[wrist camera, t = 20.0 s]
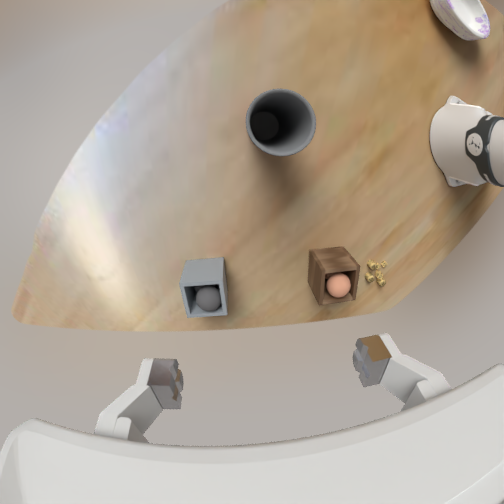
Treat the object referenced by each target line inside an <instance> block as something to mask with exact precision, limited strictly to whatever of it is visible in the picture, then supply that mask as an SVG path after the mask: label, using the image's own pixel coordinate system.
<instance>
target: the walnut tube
mask: <svg viewBox="0 0 504 504" xmlns="http://www.w3.org/2000/svg"><path fill="white" fill-rule="evenodd" d="M335 272H341V273H343V274H345V275H346V276H347V277H348V278H349V280H350V283H351V287H350V290H349V292H348V293H347V294H346V295H345V296H343V297H334V296H332V295H331V294H330V293H329V292H328V290H327V281H328V279H325V274H326V273H335ZM359 272H360V265H359V264H358V263H357V262H356V261H355V259H354V258H353V257H352V256H351V255H350V254H349V252H348V251H347V250H346V249H345V248H344V247H334V248H323V249H312V250H309V269H308V283H309V285H310V287H311V289H312V291H313V293H314V295H315V298H316V300H317V302H318V304H319V305H325V304H332V303H339V302H345V301H352V300H355V298H356V292H357V285H358V279H359Z"/></svg>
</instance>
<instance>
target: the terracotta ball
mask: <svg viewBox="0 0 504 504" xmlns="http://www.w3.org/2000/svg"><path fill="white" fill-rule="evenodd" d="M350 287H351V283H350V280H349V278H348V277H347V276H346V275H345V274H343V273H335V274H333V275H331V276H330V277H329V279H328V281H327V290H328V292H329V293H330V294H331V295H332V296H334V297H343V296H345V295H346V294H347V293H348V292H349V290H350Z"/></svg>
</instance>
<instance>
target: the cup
mask: <svg viewBox="0 0 504 504" xmlns="http://www.w3.org/2000/svg"><path fill="white" fill-rule="evenodd" d="M246 128H247V131H248V134H249V136H250V138H251V140H252V141H253V143H254V144H255V145H256V146H257V147H258V148H260V149H261V150H262V151H264V152H266V153H268V154H271V155H275V156H289V155H293V154H296V153H298V152H300V151H301V150H303V149H304V148H305V147H306V146H307V145H308V144H309V143H310V142H311V140H312V138H313V136H314V133H315V129H316V118H315V114H314V111H313V109H312V107H311V105H310V104H309V103H308V101H307V100H306V99H305V98H304V97H302V96H301V95H300V94H298V93H296V92H294V91H291V90H287V89H273V90H269V91H266V92H264V93H262V94H260V95H259V96H258V97H256V98H255V100H254V101H253V102H252V103H251V105H250V107H249V108H248V111H247V115H246Z"/></svg>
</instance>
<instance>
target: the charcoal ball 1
mask: <svg viewBox="0 0 504 504" xmlns="http://www.w3.org/2000/svg"><path fill="white" fill-rule="evenodd" d="M216 285H217V284H212V285H199V286H194V288H195V290H196V291H197V292H198V291H199V290H200V289H201V288H202V287H204V286H213V287H215V288H216Z"/></svg>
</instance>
